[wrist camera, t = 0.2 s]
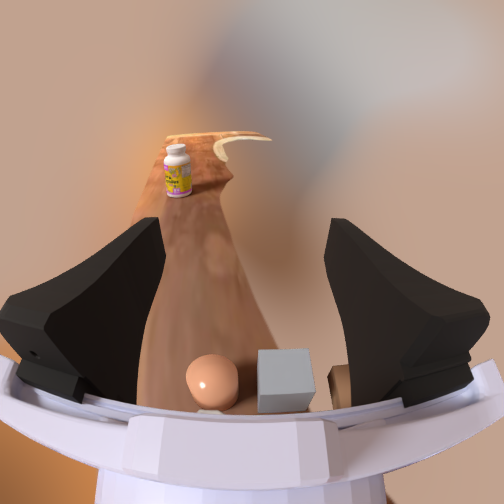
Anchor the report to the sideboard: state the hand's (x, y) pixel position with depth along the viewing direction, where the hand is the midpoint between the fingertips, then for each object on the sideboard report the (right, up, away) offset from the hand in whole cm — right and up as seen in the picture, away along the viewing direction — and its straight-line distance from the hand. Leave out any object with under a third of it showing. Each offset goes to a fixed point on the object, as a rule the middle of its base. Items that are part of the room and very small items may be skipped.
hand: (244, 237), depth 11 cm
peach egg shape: (-4, -16, +15) cm, 22 cm away
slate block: (+3, -16, +15) cm, 22 cm away
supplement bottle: (-18, +14, +57) cm, 61 cm away
